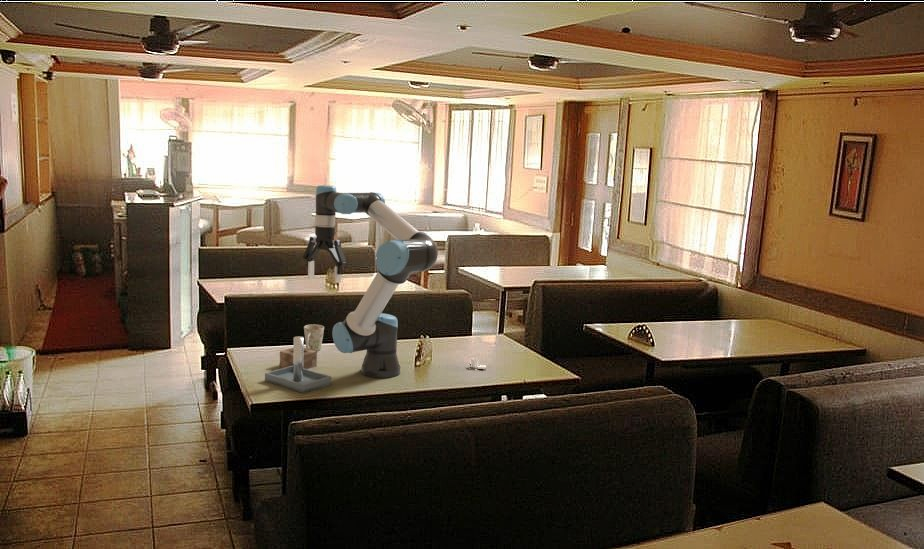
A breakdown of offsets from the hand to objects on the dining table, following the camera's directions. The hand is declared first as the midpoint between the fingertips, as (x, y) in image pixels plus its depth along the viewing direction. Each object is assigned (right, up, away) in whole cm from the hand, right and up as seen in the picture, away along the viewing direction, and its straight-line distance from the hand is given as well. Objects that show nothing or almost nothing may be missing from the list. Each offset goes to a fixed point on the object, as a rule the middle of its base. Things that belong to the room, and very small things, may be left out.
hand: (324, 280), depth 296 cm
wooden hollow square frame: (-11, -34, +3) cm, 36 cm away
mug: (-10, -30, +25) cm, 40 cm away
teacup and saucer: (+59, -37, +11) cm, 70 cm away
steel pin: (-6, -36, -17) cm, 41 cm away
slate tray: (-6, -37, -17) cm, 42 cm away
